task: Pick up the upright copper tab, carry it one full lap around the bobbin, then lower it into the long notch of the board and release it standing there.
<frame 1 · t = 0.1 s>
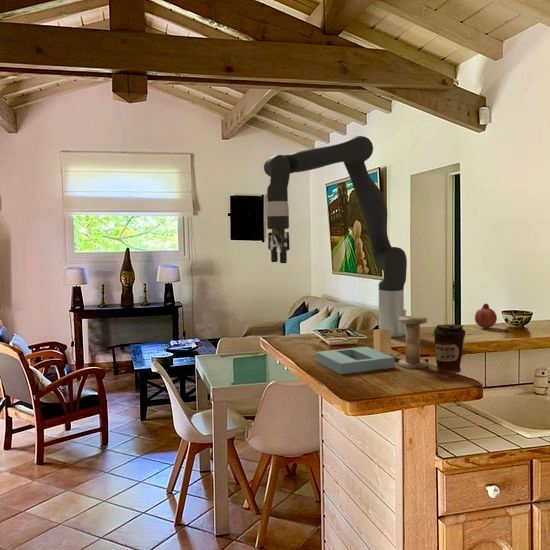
hand: (278, 262, 185), 29 cm above the worktop, fingers open, 8 cm apart
bobbin: (412, 365, 158), on the worktop
tab: (382, 355, 172), on the worktop
board: (354, 364, 160), on the worktop
coffee cup: (448, 372, 151), on the worktop
fruit: (485, 329, 212), on the worktop
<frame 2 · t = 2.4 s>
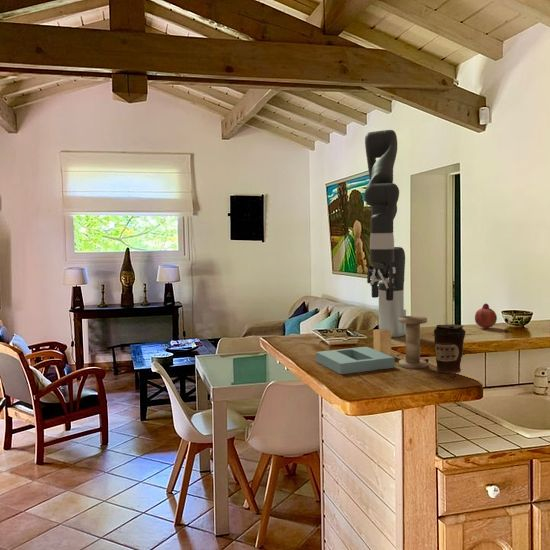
hand: (382, 298, 170), 18 cm above the worktop, fingers open, 8 cm apart
nothing on the worktop moved.
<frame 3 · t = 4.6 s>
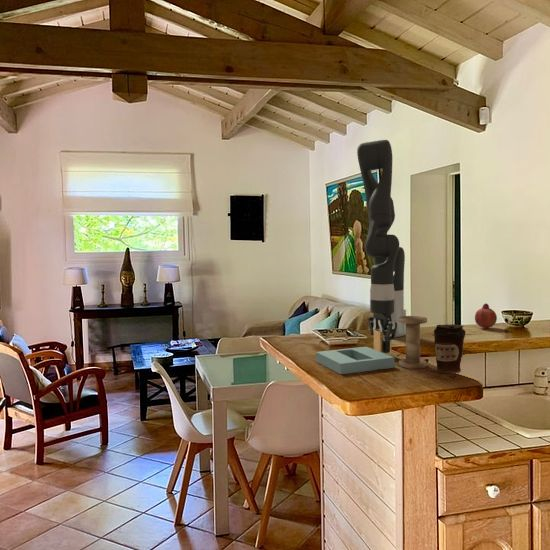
hand: (382, 350, 172), 1 cm above the worktop, fingers closed on tab, 4 cm apart
tab: (382, 354, 172), on the worktop, touching gripper
everything else where it was.
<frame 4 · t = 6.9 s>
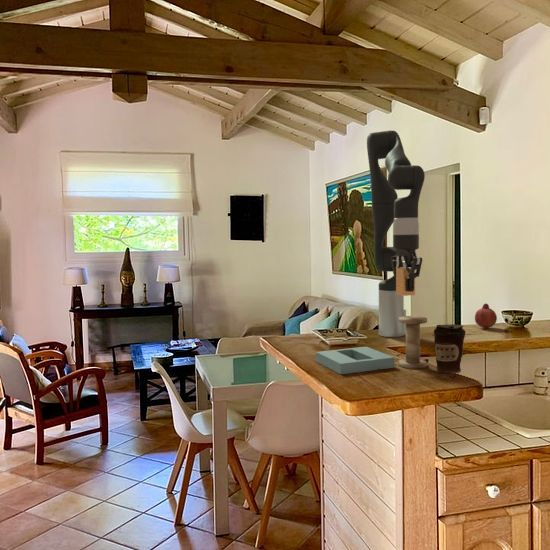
hand: (405, 290, 162), 22 cm above the worktop, fingers closed on tab, 4 cm apart
tab: (405, 294, 162), point 20 cm above the worktop, touching gripper
everything else where it was.
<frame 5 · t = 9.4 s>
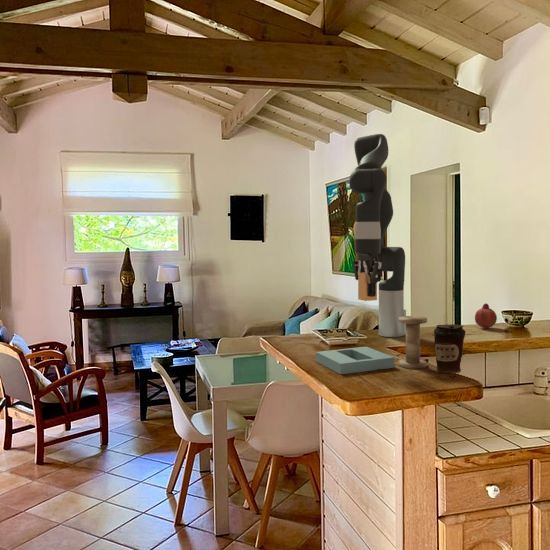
hand: (367, 295, 159), 21 cm above the worktop, fingers closed on tab, 4 cm apart
tab: (367, 299, 159), point 19 cm above the worktop, touching gripper
everything else where it was.
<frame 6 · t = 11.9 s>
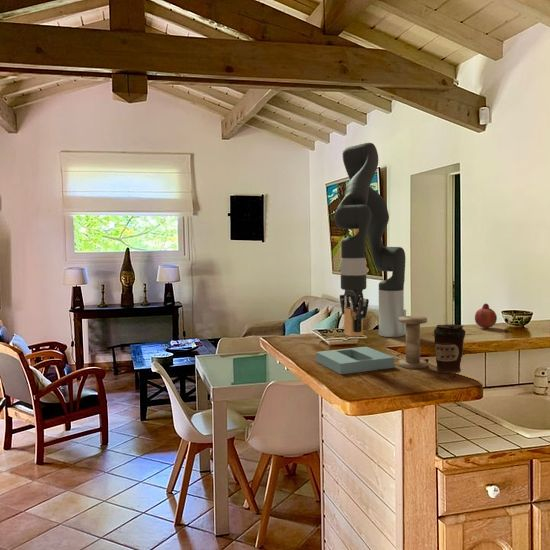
hand: (353, 330, 160), 10 cm above the worktop, fingers closed on tab, 4 cm apart
tab: (353, 334, 160), point 9 cm above the worktop, touching gripper
everything else where it was.
when the fingers open (2 cm above the worktop, at t = 14.2 s): tab stays where it is, resting in board.
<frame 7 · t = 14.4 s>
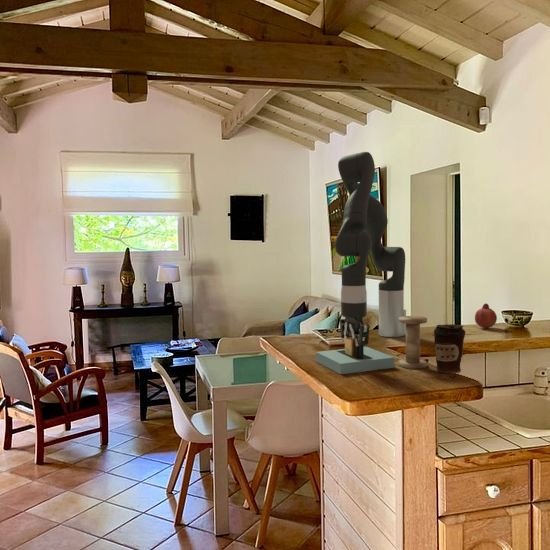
hand: (354, 356, 160), 3 cm above the worktop, fingers open, 6 cm apart
tab: (354, 364, 160), resting in board
everything else where it was.
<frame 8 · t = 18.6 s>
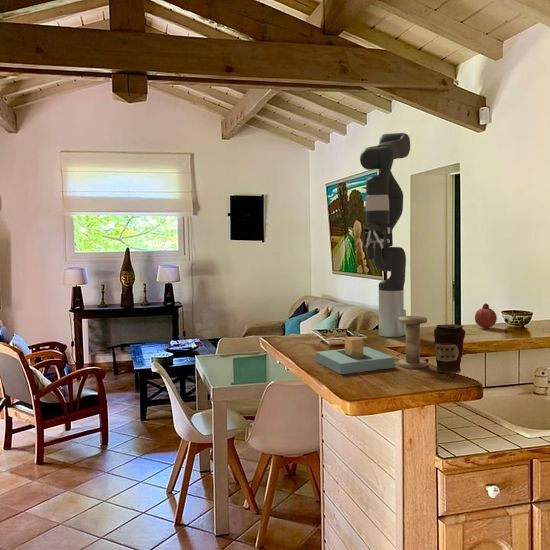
hand: (377, 259, 176), 30 cm above the worktop, fingers open, 8 cm apart
nothing on the worktop moved.
at the end: tab inside the target area on the board (0.1 cm from its centre), point 0.0 cm above the board's base; tab tilted 0°; the gripper is holding nothing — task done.
